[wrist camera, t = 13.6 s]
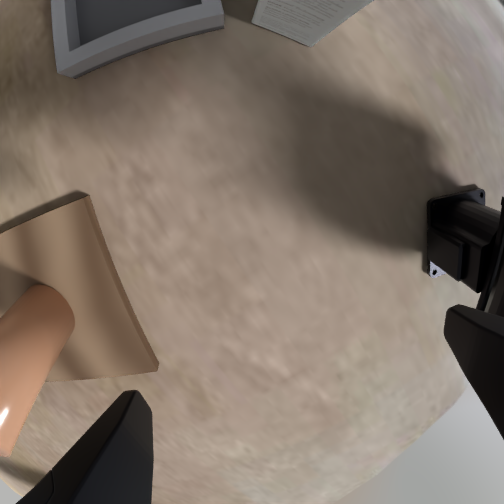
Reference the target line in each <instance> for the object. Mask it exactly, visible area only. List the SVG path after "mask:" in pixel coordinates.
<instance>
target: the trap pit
mask: <svg viewBox="0 0 504 504" xmlns="http://www.w3.org/2000/svg"><path fill="white" fill-rule="evenodd" d="M51 15H52V30H53V41H54V51H55V59H56V67H57V73H59V74H62V75H65V76H68V77H71V78H74V79H76V78H78V77H80V76H82V75H84V74H87V73H89V72H91V71H93V70H95V69H98V68H100V67H102V66H105V65H107V64H109V63H112V62H114V61H117V60H119V59H122V58H124V57H127V56H130V55H132V54H135V53H138V52H141V51H144V50H146V49H149V48H152V47H155V46H159V45H162V44H165V43H168V42H172V41H175V40H179V39H182V38H186V37H190V36H193V35H197V34H202V33H206V32H210V31H215V30H219V29H224V11H223V7H222V3H221V0H51Z"/></svg>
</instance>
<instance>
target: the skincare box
mask: <svg viewBox="0 0 504 504" xmlns="http://www.w3.org/2000/svg"><path fill="white" fill-rule="evenodd" d="M372 1H374V0H258V3H257V6H256V9H255V12H254V15H253V18H252V21H251V22H252V23H253V24H255V25H258V26H261V27H263V28H266V29H268V30H271V31H273V32H276V33H278V34H281V35H283V36H285V37H288V38H290V39H293V40H295V41H297V42H300V43H302V44H304V45H307V46H309V47H312V46H314V45H315V44H316V43H317V42H318V41H320V40H321V39H322V38H323V37H325V36H326V35H327V34H328V33H330V32H331V31H332V30H334V29H335V28H336V27H337V26H339V25H340V24H341V23H343V22H344V21H345V20H347V19H348V18H350V17H351V16H352V15H354V14H355V13H356V12H358V11H359V10H361V9H362V8H363V7H365V6H366V5H368V4H369V3H371V2H372Z"/></svg>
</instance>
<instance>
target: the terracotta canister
mask: <svg viewBox="0 0 504 504" xmlns="http://www.w3.org/2000/svg"><path fill="white" fill-rule="evenodd" d="M74 328H75V317H74V314H73V311H72V309H71V307H70V305H69V304H68V302H67V301H66V299H65V298H64V297H63V296H62V295H61V294H60V293H58V292H57V291H56V290H54V289H53V288H51V287H49V286H46V285H41V284H36V285H32V286H30V287H29V288H28V289H27V290H26V291H25V292H24V293H23V294H22V295H21V296H20V297H19V298H18V299H17V300H16V301H15V303H14V304H13V305H12V306H11V307H10V308H9V309H8V310H7V311H6V312H5V313H4V315H3V316H2V317H1V318H0V456H3V457H9V456H10V455H11V453H12V450H13V448H14V445H15V443H16V441H17V438H18V436H19V434H20V432H21V429H22V427H23V425H24V423H25V421H26V418H27V416H28V414H29V412H30V410H31V408H32V406H33V404H34V402H35V400H36V398H37V396H38V394H39V392H40V390H41V388H42V386H43V384H44V382H45V380H46V379H47V377H48V375H49V373H50V371H51V369H52V367H53V366H54V364H55V362H56V360H57V358H58V357H59V355H60V353H61V351H62V350H63V348H64V346H65V344H66V343H67V341H68V339H69V338H70V336H71V334H72V333H73V331H74Z"/></svg>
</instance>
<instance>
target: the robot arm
mask: <svg viewBox="0 0 504 504" xmlns="http://www.w3.org/2000/svg"><path fill="white" fill-rule="evenodd" d="M433 204H435V205H434V208H433ZM501 205H502V208H501V212H500V211H497V210H495V209H492V208H490V207H487V206H485V191H484V190H483V189H480V188H477V189H473V190H468V191H464V192H459V193H455V194H450V195H446V196H441V197H437V198H432V199H430V200H429V201H428V203H427V215H428V231H427V234H428V252H427V258H428V269H427V273H428V275H429V276H430V277H432V278H435V277H438V276H440V275H443V274H446V273H447V274H448V275H450V276H451V277H453V278H454V279H455V280H457V281H458V282H459V281H462V282H463V283H464V284H466V285H467V286H468V287H470V288H471V289H472V290H473V291H475V292H476V293H480V292H481V295H480V298H479V301H478V304H477V307H476V309H474V308H471V307H467V306H464V305H460V304H458V305H455V306H453V307H450V308H449V309H448V310H447V312H446V318H445V325H444V336H445V339H446V341H447V342H448V344H449V346H450V348H451V350H452V352H453V353H454V355H455V357H456V359H457V361H458V363H459V365H460V367H461V369H462V371H463V372H464V374H465V376H466V378H467V379H468V381H469V382H470V384H471V386H472V387H473V389H474V390H475V392H476V393H477V395H478V397H479V398H480V400H481V402H482V403H483V405H484V406H485V408H486V410H487V411H488V413H489V415H490V417H491V418H492V420H493V422H494V423H495V425H496V427H497V429H498V430H499V432H500V434H501V436H502V437H503V439H504V197H502V200H501ZM433 270H434V272H433ZM432 272H433V273H432ZM153 461H154V456H153V427H152V411H151V409H150V407H149V405H148V404H147V402H146V401H145V399H144V398H143V396H142V395H141V393H140V392H139V391H137V390H129V391H124V392H123V393H122V394H121V395H120V396H119V397H118V398H117V399H116V400H115V401H114V402H113V403H112V405H111V406H110V407H109V408H108V409H107V410H106V411H105V412H104V413H103V414H102V415H101V416H100V417H99V419H98V420H97V421H96V422H95V423H94V424H93V425H92V426H91V427H90V428H89V429H88V430H87V431H86V432H85V434H84V435H83V436H82V437H81V438H80V439H79V440H78V441H77V442H76V443H75V444H74V445H73V446H72V448H71V449H70V450H69V451H68V452H67V453H66V454H65V455H64V456H63V457H62V458H61V459H60V460H59V461H58V463H57V464H56V465H55V466H54V467H53V468H52V470H50V471H49V472H48V473H47V474H46V475H45V476H44V477H43V478H42V480H41V481H40V482H39V483H38V484H37V485H36V486H35V487H34V488H33V489H32V490H30V491H29V492H28V493H27V494H26V495H25V496H24V497H23V498H22V499H20V500H19V501H18V502H17V503H16V504H151V498H152V479H153Z"/></svg>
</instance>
